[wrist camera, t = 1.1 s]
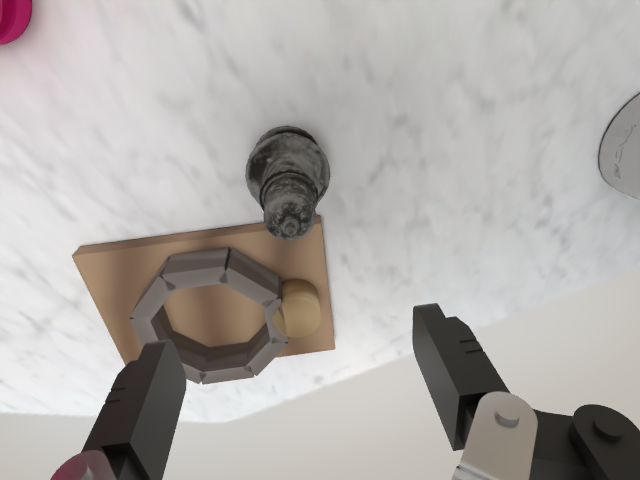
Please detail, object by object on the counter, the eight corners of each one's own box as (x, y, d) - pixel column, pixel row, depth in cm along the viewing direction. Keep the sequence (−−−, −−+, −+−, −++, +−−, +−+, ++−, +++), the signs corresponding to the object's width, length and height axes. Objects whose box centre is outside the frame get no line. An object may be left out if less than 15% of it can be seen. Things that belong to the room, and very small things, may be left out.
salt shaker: (332, 185, 31) (357, 266, 21) (262, 203, 31) (252, 291, 21) (315, 113, 28) (335, 163, 18) (238, 133, 29) (213, 194, 18)
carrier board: (319, 215, 32) (324, 241, 28) (333, 338, 39) (339, 373, 35) (80, 246, 32) (51, 277, 28) (136, 365, 39) (120, 403, 35)
